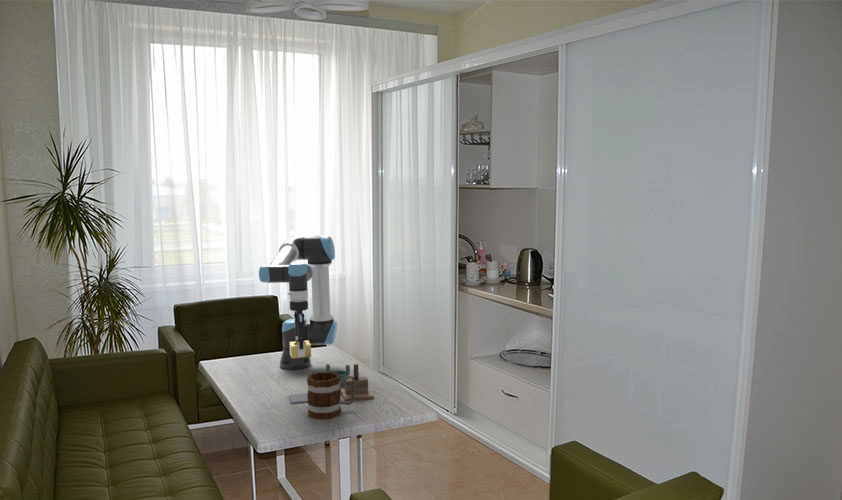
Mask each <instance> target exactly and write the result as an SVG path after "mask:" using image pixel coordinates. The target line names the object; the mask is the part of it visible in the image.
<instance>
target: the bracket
mask: <svg viewBox="0 0 842 500" xmlns="http://www.w3.org/2000/svg"><path fill="white" fill-rule="evenodd" d="M330 368H331V364H328V363H327V364H325V372H335V373H338V374H340V381H342V380H343V379H344V378H345V377H346V376H348V375H349V376H350V374H351V371H350V370H351V369H350V368H351V367H350V364H345V370H340V369H339V370H332V371H331V369H330ZM342 387H345V383H344V384H341V385H340V388H342Z"/></svg>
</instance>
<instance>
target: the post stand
mask: <svg viewBox="0 0 842 500" xmlns="http://www.w3.org/2000/svg"><path fill="white" fill-rule="evenodd" d="M359 375H360V373H359V363H356V364H355V363H354V364H353V377H354V379H355V382H356V384H355V399H354V401H355V402H356V401H363V400H373V399H374V398H375V395H374V394H373V393H372V390H371V389H370V388H369V380H368V378H367V376H359ZM352 384H353V381H352V378H349V379H347V380H346V382H345V386H344V387H343V388H342V387H340V390H341V395H342V397H343V401H346V402H349V401H351V398H352Z"/></svg>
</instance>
